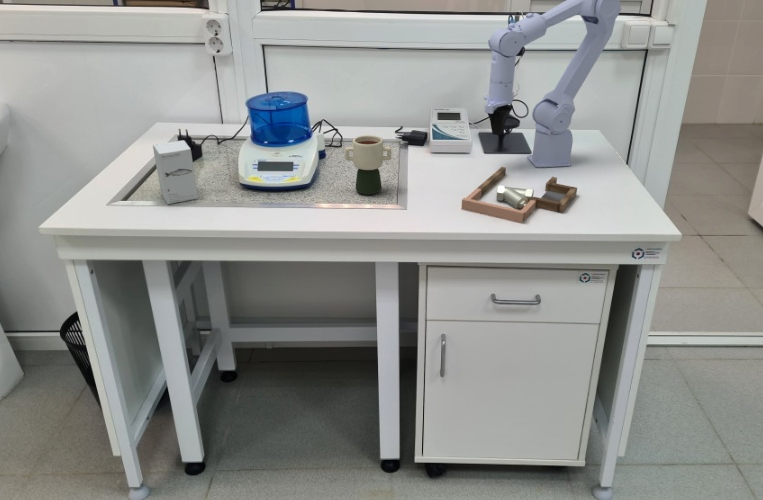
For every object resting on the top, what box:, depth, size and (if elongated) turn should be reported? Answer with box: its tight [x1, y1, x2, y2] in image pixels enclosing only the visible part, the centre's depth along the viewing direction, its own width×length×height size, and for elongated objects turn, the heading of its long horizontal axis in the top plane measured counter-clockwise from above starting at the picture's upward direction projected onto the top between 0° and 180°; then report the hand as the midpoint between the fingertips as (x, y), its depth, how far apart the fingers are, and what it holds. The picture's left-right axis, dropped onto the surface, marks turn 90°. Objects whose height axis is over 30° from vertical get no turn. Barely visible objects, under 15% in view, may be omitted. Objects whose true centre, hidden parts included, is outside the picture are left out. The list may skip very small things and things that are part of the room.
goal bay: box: [460, 187, 536, 224], centre depth 144 cm, size 9×14×2 cm, turn 59°
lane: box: [477, 166, 578, 214], centre depth 152 cm, size 16×20×2 cm
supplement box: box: [152, 140, 199, 205], centre depth 148 cm, size 7×7×13 cm
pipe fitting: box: [495, 185, 535, 210], centre depth 146 cm, size 8×4×7 cm
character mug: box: [344, 134, 392, 195], centre depth 150 cm, size 11×7×13 cm, turn 90°
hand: (496, 134), depth 162 cm, fingers closed
